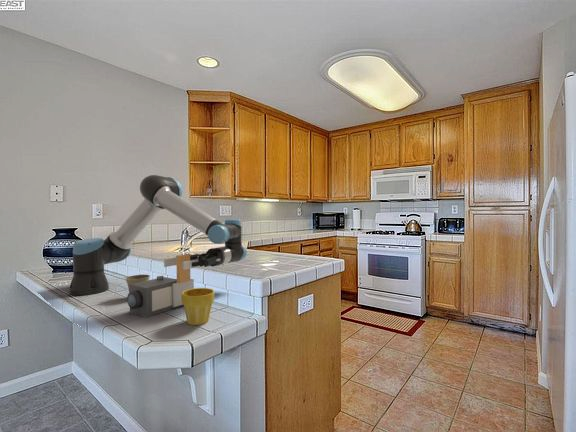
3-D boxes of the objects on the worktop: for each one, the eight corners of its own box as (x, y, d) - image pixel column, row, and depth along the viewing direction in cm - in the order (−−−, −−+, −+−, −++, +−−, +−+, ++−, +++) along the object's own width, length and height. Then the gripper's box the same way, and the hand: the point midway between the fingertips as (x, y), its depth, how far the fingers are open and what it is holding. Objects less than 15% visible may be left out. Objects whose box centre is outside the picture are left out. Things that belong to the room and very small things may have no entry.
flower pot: (122, 297, 127) (122, 276, 127) (146, 292, 133) (146, 273, 133) (128, 302, 120) (128, 280, 120) (153, 297, 126) (153, 276, 126)
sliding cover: (191, 300, 118) (191, 253, 118) (194, 300, 117) (194, 253, 117) (172, 306, 111) (171, 256, 110) (175, 307, 110) (174, 256, 109)
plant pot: (221, 319, 100) (221, 290, 100) (197, 330, 91) (197, 297, 91) (199, 314, 105) (198, 286, 105) (174, 323, 97) (174, 293, 96)
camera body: (164, 302, 120) (163, 274, 119) (181, 306, 114) (180, 277, 114) (123, 314, 106) (122, 282, 105) (140, 319, 100) (140, 286, 100)
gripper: (238, 267, 123) (195, 278, 104) (199, 262, 135) (154, 271, 116) (238, 249, 123) (194, 256, 104) (199, 246, 135) (154, 252, 116)
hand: (173, 264), depth 110 cm, fingers open, 10 cm apart
